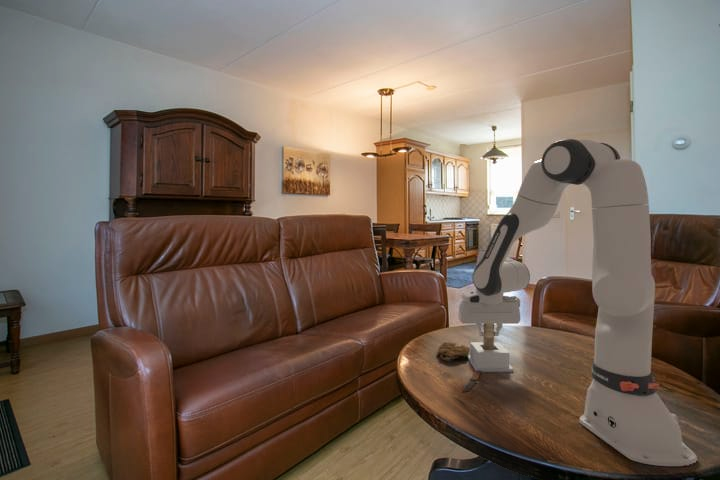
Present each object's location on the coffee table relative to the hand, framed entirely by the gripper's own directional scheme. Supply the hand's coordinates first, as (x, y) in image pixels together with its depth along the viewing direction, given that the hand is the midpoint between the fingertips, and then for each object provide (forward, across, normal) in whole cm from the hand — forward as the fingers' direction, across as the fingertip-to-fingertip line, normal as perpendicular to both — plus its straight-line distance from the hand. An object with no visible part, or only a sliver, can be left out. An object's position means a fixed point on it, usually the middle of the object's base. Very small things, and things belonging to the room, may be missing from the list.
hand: (488, 335), depth 125 cm
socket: (+10, 0, 0) cm, 10 cm away
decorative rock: (+11, +10, -8) cm, 17 cm away
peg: (+6, 0, 0) cm, 6 cm away
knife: (+11, +9, +14) cm, 20 cm away
